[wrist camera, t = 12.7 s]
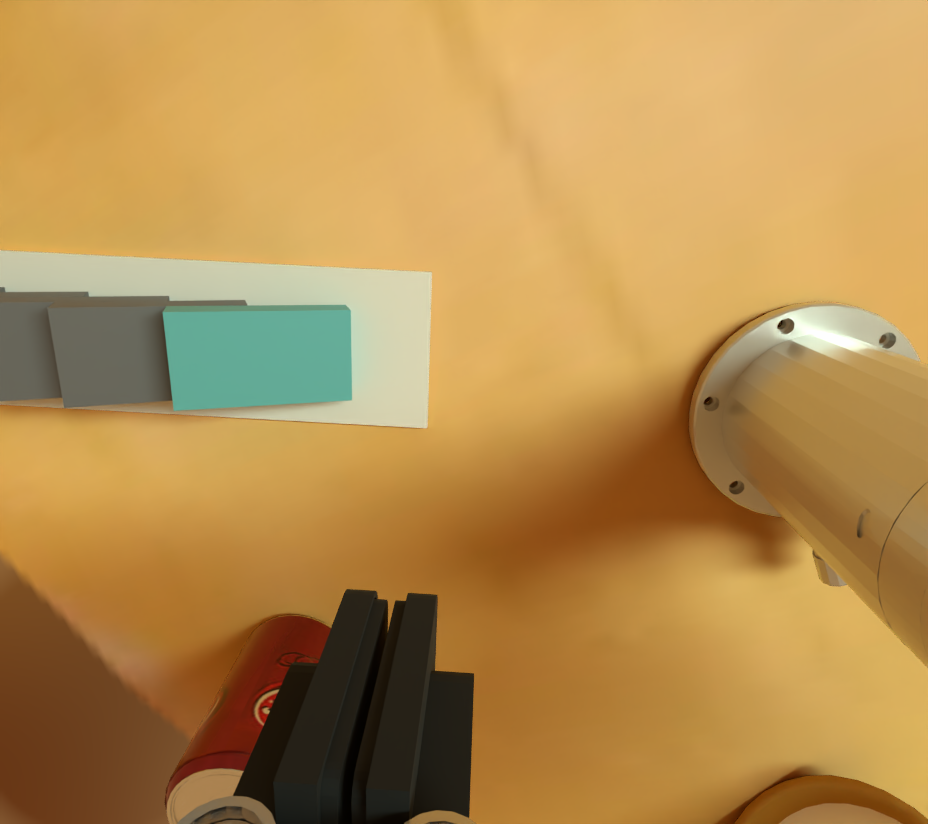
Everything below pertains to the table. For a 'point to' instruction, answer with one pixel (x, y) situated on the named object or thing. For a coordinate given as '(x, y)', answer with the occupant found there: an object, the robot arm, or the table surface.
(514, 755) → the table surface
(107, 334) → the domino
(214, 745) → the soda can
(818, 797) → the flared yellow plastic housing
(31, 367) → the domino
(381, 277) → the plate
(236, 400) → the domino
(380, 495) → the table surface
